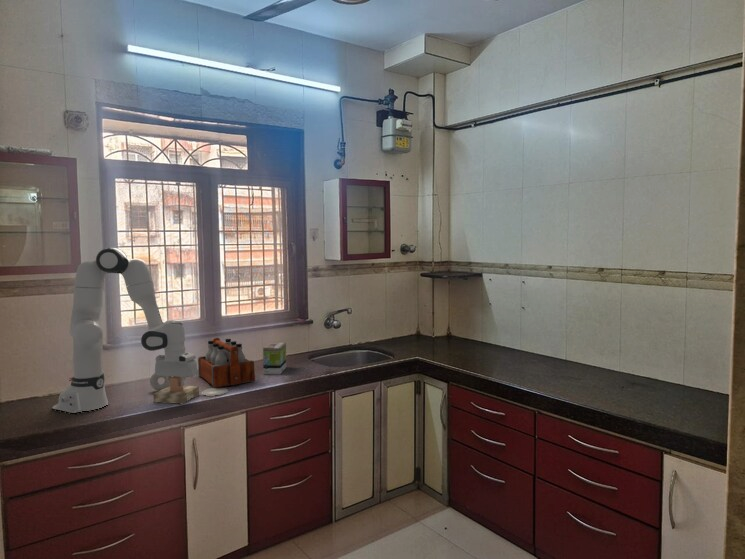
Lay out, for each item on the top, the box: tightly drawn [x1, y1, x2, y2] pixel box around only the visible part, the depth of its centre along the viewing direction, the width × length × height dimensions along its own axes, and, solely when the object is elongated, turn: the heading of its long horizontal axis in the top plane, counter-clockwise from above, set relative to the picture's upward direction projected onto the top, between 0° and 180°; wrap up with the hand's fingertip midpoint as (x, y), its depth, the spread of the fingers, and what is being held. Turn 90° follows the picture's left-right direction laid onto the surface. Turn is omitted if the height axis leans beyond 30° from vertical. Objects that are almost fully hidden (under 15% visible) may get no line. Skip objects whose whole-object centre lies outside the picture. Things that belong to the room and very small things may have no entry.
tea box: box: [262, 342, 287, 375], centre depth 278 cm, size 15×10×15 cm
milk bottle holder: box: [197, 337, 256, 388], centre depth 262 cm, size 21×35×19 cm, turn 33°
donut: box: [149, 372, 170, 392], centre depth 243 cm, size 10×4×10 cm, turn 108°
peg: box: [170, 376, 183, 392], centre depth 231 cm, size 4×4×10 cm
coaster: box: [200, 387, 228, 397], centre depth 240 cm, size 12×12×1 cm
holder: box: [152, 385, 200, 405], centre depth 231 cm, size 14×14×4 cm
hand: (176, 385), depth 230 cm, fingers closed on peg, 4 cm apart
